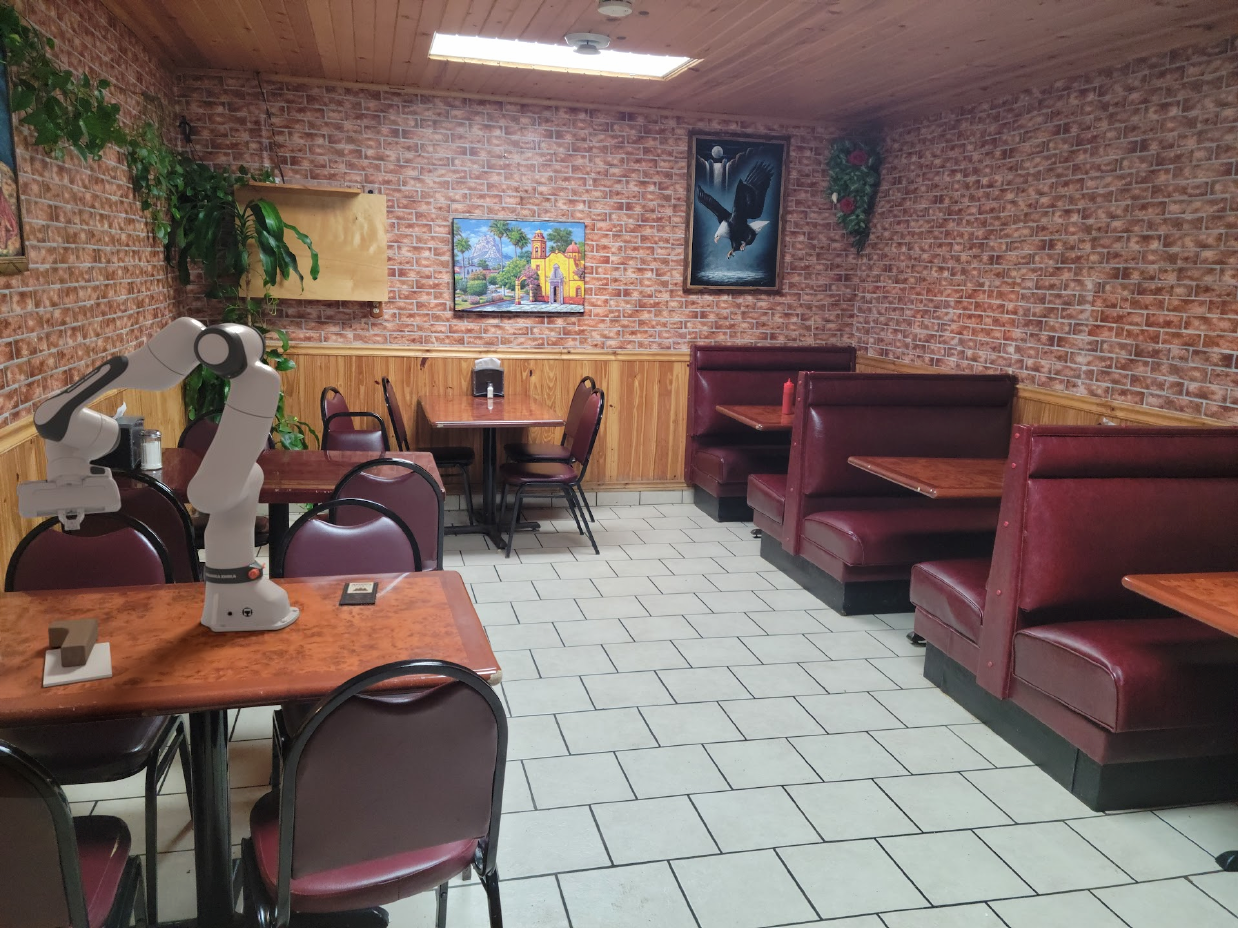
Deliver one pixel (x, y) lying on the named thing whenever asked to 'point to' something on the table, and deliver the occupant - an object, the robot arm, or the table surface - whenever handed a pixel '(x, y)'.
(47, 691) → the table surface
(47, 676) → the white board
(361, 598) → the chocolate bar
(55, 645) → the wooden block
